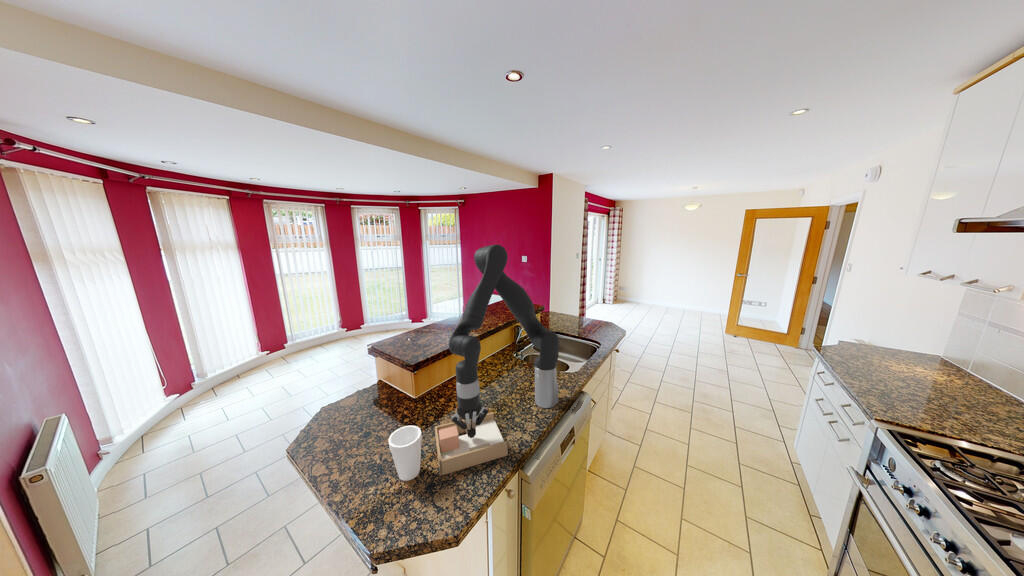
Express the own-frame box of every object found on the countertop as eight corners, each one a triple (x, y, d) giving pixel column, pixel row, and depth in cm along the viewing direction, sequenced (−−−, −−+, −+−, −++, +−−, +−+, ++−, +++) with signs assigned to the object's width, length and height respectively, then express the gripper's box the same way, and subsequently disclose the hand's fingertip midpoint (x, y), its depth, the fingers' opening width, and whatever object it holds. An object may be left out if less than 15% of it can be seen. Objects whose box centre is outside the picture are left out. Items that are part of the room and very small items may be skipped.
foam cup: (399, 461, 92) (394, 426, 89) (427, 458, 92) (424, 424, 90) (388, 486, 83) (383, 448, 80) (420, 484, 83) (416, 446, 81)
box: (493, 423, 109) (493, 412, 108) (507, 455, 93) (507, 442, 92) (435, 438, 102) (434, 426, 101) (440, 475, 86) (439, 461, 85)
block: (457, 438, 98) (456, 425, 97) (459, 448, 93) (458, 434, 92) (439, 442, 96) (438, 430, 95) (441, 453, 91) (440, 439, 90)
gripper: (484, 381, 99) (487, 424, 103) (446, 389, 95) (451, 434, 98) (490, 392, 92) (492, 438, 96) (449, 402, 88) (454, 449, 91)
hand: (471, 436), depth 97 cm, fingers closed
